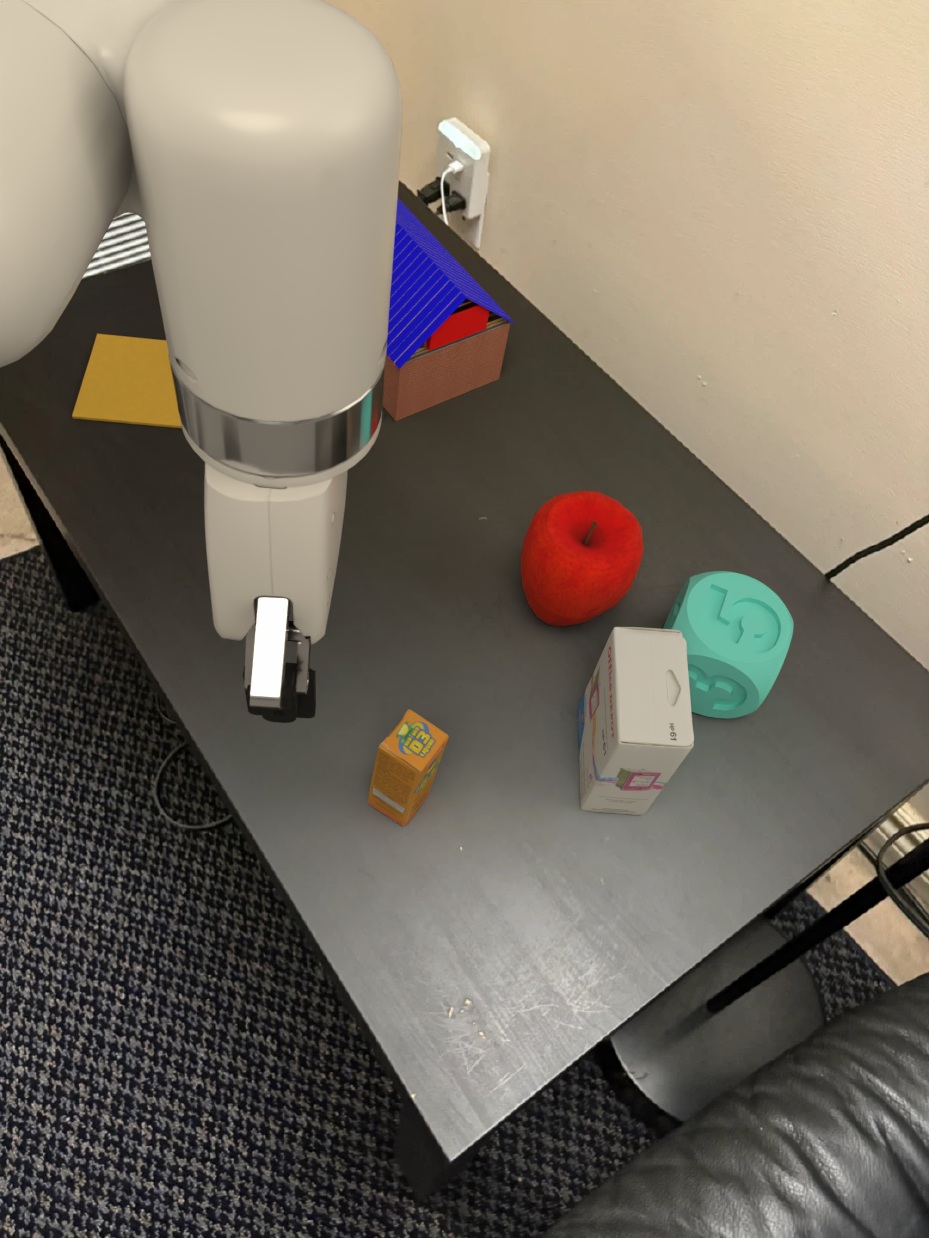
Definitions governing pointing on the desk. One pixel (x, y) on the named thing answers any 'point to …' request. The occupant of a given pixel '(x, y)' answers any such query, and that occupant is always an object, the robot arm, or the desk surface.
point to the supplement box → (406, 767)
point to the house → (436, 325)
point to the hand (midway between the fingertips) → (293, 626)
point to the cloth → (128, 383)
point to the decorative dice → (730, 641)
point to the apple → (579, 557)
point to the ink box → (634, 720)
